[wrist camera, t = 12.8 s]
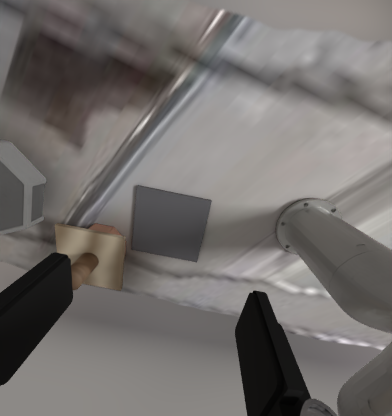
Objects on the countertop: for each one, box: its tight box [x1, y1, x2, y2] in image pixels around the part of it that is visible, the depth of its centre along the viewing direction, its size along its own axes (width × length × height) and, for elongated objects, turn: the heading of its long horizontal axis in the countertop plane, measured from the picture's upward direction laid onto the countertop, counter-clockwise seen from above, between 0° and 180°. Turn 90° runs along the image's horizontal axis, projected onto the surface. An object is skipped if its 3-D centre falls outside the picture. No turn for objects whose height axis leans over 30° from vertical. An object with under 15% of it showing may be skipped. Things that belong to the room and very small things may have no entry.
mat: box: [132, 185, 211, 262], centre depth 40 cm, size 15×15×1 cm
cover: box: [55, 223, 126, 291], centre depth 35 cm, size 13×13×7 cm
